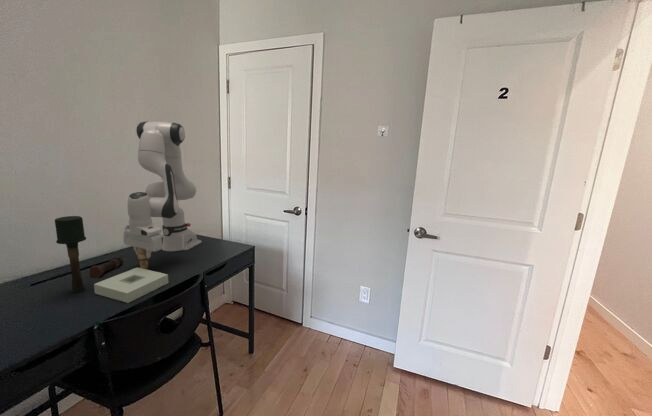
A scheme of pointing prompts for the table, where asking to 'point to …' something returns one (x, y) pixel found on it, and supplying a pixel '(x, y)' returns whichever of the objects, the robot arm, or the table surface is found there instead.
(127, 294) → the board
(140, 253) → the peg
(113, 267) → the bolt
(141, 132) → the robot arm
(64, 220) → the grenade
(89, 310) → the table surface
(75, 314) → the table surface
